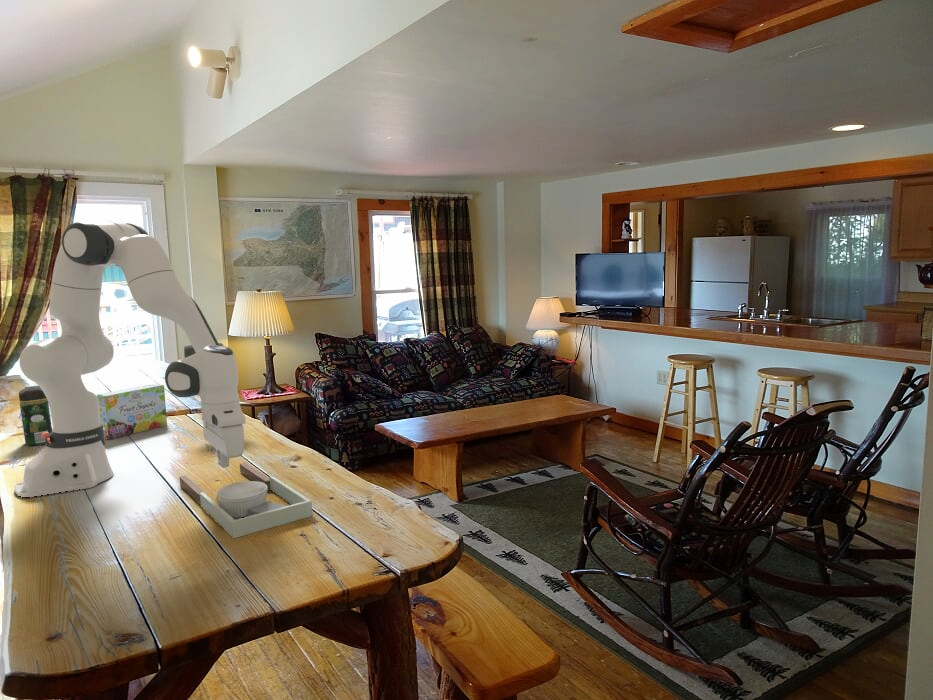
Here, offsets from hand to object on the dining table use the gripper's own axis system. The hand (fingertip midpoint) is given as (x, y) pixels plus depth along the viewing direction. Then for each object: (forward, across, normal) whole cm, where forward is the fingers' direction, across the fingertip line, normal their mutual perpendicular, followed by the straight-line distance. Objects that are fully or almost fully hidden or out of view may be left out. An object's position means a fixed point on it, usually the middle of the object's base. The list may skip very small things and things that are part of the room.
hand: (223, 466), depth 164 cm
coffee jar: (+10, -90, -32) cm, 96 cm away
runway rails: (+7, -3, +1) cm, 7 cm away
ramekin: (+6, +16, -1) cm, 17 cm away
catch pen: (+6, +18, +1) cm, 19 cm away
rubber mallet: (+8, -64, +16) cm, 67 cm away
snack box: (+9, -82, -5) cm, 83 cm away
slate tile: (+6, +23, +2) cm, 24 cm away
